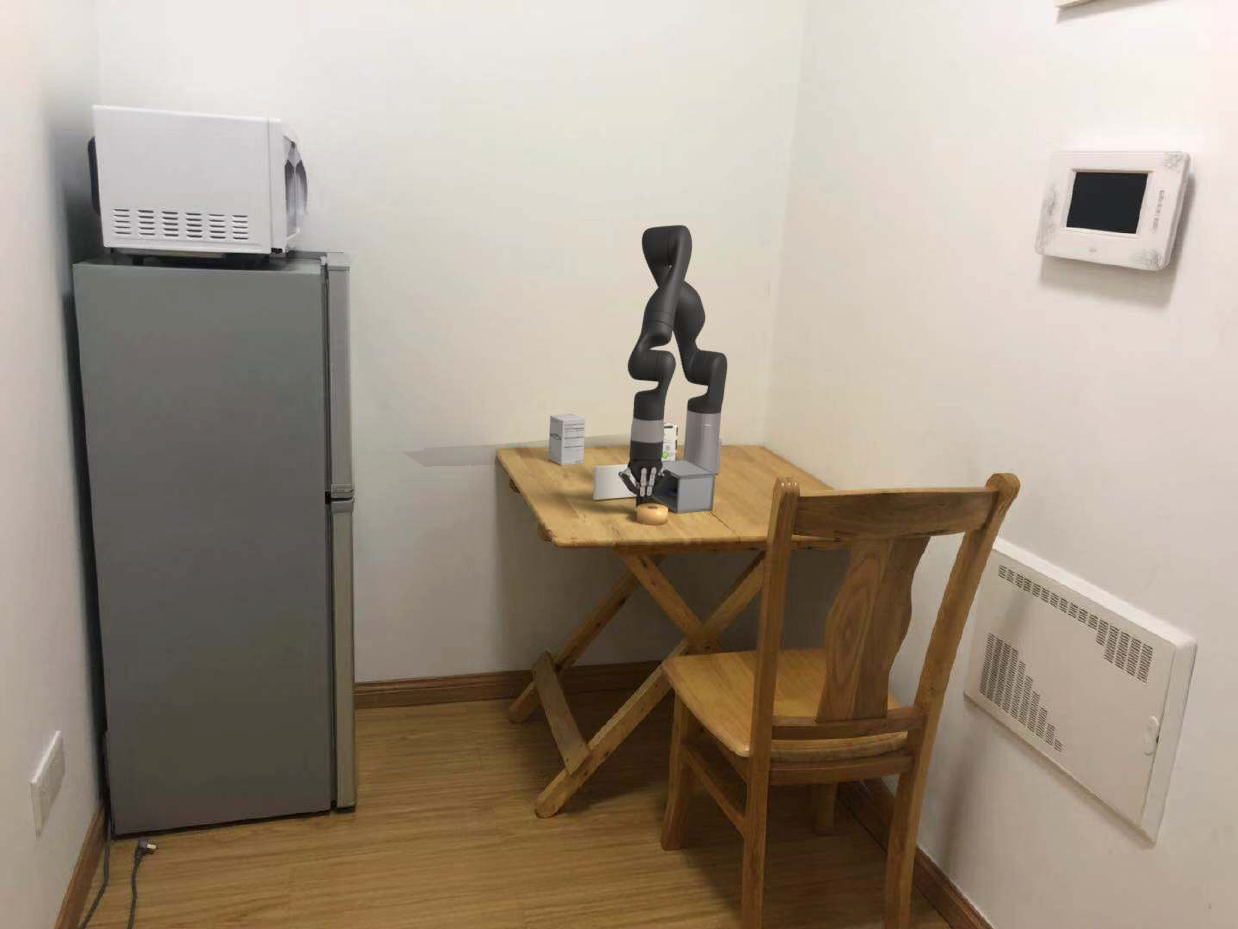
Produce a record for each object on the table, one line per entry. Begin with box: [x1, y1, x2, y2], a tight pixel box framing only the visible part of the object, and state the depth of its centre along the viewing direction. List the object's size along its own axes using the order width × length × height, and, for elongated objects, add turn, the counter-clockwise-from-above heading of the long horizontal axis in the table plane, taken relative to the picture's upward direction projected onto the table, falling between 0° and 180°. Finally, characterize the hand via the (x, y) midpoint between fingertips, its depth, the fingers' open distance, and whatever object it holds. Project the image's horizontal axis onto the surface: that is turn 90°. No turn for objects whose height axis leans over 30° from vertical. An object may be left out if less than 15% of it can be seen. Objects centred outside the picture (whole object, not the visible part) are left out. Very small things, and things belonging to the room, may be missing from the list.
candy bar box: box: [661, 421, 679, 461], centre depth 252 cm, size 11×5×16 cm, turn 117°
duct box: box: [650, 459, 717, 514], centre depth 240 cm, size 10×14×9 cm
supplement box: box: [547, 413, 586, 466], centre depth 273 cm, size 7×7×13 cm
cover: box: [592, 463, 636, 501], centre depth 241 cm, size 15×1×8 cm, turn 116°
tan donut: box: [636, 502, 669, 526], centre depth 226 cm, size 7×7×3 cm
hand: (642, 510), depth 230 cm, fingers closed
